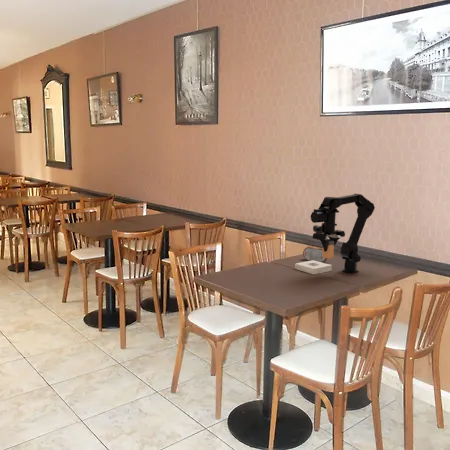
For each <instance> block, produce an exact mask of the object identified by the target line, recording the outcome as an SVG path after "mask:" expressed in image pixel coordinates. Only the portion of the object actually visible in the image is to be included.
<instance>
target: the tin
mask: <svg viewBox="0 0 450 450" xmlns="http://www.w3.org/2000/svg"><path fill="white" fill-rule="evenodd" d="M302 255H303V257H304V259H305V260H306V261H311V260H315V261H318V262H322V263H325V262H326V261H327V260H328V259H327V258H323V257H322V255H323V247H317V246H307V247H305V248H304V249H303V252H302Z"/></svg>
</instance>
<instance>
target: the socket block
mask: <svg viewBox="0 0 450 450" xmlns="http://www.w3.org/2000/svg"><path fill="white" fill-rule="evenodd" d="M294 269H295V270H298V271H300V272H304V273H307V274H310V275H318V274H322V273H328V272H332V270H333V265H332V264H329V263H326V262H318V261H315V260H311V261H308V260H306V261H300V262H297V263H295V264H294Z"/></svg>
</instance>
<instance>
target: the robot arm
mask: <svg viewBox="0 0 450 450" xmlns="http://www.w3.org/2000/svg"><path fill="white" fill-rule="evenodd" d="M353 203H354V205H355V206H356V207H357V208H356V209H357V210H356V212H357V213H356V214H357V217H356V218H355V219H356V220H355V223H354V225H353V227H352V231H351V232H350V235H349V237H348V240H347V242H342V245H341V247H340V256H341V258H342V260H344V268H343V269H342V271H341V272H345V273H348V274H354V273H355V274H356V273H359V271H360V270H357V268H358V263H359V262H361V256H360V255H359V254H358V251H359V247H358V243H359V240H360V237H361V235H362V233H363V230H364V227H365V225H366V223H367V220H368V219H370V217H371V216H372V215H373V213H374V211H375V208H376V207H375V205H374V202H372V201H370V200H369V199H368V198H366V197H364V195H363V194H362V193H361V194H360V193H353V194H348V195H344V196H343V195H342V196H337V197H336V196H326V197H324V198H323V200H322V202H321V204H320V206H319V207H318V208H317V209H316V208H315V209H313V211H312V212H311V214H310V221H311V222H312V223H314V224H316V225H313V227H312V231H313V234H312V239H314V240H318V241H320V242H321V245H322V248H323V249H324V251H325V252H326V251H327V248H328V244H329V240H333V241H334V247H335V246H336V245H337V243H338V242H339V240H340V239H341V238H343V237H346V233H345V232H346V231H344V230H341V229H336V227H337V225H338V224H337V223H336V216H337V215H336V213H337V214H339V213H340V211H339V210H338V208H340V207H341V206H343V205H349V204H353ZM317 223H321V225H320V226H319V225H318V224H317ZM339 236H340V237H341V238H340V237H339Z"/></svg>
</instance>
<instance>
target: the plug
mask: <svg viewBox="0 0 450 450" xmlns="http://www.w3.org/2000/svg"><path fill="white" fill-rule="evenodd" d="M334 252H335V246H334V241H333V240H330V239H329V244H328V248H327V251H326V252H325V251H324V249H323V255H322V257H323V258H327V260H330V259H333V258H335V257H334V256H335V255H334V254H335V253H334Z"/></svg>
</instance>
